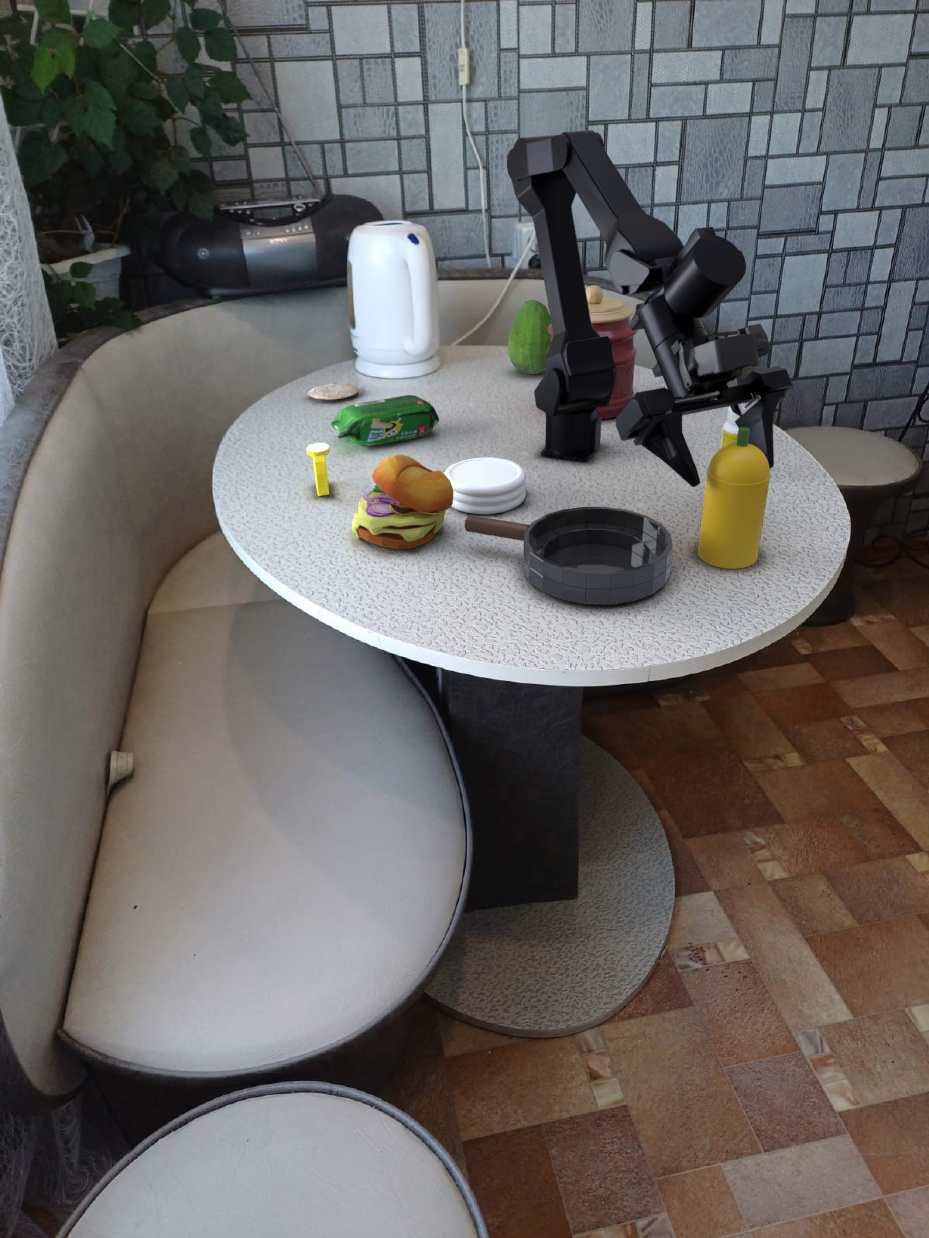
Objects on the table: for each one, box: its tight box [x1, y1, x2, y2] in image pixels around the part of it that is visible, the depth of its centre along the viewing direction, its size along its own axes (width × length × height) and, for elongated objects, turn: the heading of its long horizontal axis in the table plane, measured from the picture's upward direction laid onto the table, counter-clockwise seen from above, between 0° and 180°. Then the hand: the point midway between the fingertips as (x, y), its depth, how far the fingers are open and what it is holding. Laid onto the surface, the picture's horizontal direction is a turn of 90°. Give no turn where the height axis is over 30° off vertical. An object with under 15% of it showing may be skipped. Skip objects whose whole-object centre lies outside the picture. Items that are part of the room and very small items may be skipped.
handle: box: [464, 514, 530, 542], centre depth 100 cm, size 7×2×2 cm, turn 66°
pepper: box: [697, 427, 771, 570], centre depth 96 cm, size 6×6×14 cm
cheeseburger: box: [351, 454, 453, 550], centre depth 105 cm, size 10×11×10 cm
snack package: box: [330, 394, 440, 446], centre depth 131 cm, size 7×16×5 cm, turn 115°
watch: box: [305, 442, 331, 497], centre depth 116 cm, size 6×3×6 cm, turn 11°
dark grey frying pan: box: [522, 506, 674, 606], centre depth 97 cm, size 15×15×4 cm
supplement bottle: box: [719, 406, 740, 450], centre depth 116 cm, size 5×5×8 cm
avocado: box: [507, 299, 551, 376], centre depth 153 cm, size 8×8×12 cm
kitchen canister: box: [547, 284, 639, 420], centre depth 136 cm, size 13×13×18 cm
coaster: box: [443, 457, 527, 515], centre depth 113 cm, size 10×10×4 cm
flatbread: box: [306, 382, 360, 401], centre depth 149 cm, size 8×8×1 cm
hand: (733, 476), depth 96 cm, fingers open, 9 cm apart
